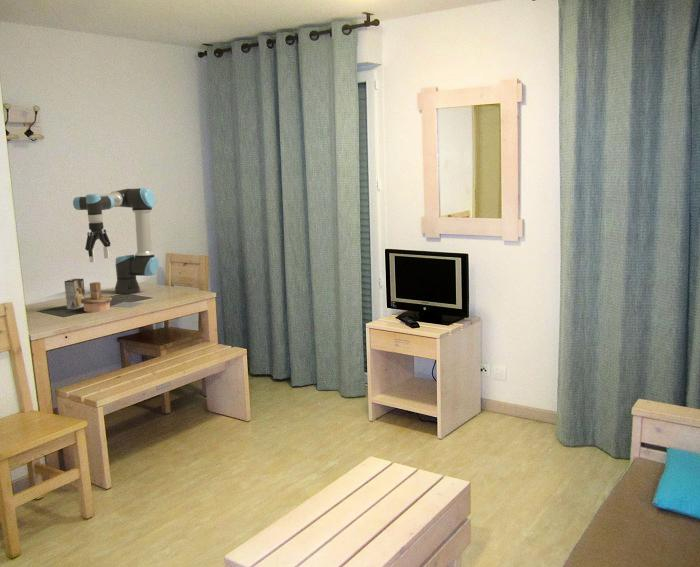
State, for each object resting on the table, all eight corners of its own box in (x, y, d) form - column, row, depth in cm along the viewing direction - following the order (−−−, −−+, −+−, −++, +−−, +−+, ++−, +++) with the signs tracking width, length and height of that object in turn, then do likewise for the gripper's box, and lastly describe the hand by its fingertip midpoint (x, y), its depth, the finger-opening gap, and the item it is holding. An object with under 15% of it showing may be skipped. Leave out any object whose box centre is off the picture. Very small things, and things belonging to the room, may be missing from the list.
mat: (123, 302, 399) (123, 302, 399) (144, 303, 396) (144, 302, 396) (109, 307, 386) (109, 306, 386) (131, 308, 382) (131, 307, 382)
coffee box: (76, 306, 393) (73, 278, 390) (86, 306, 392) (83, 278, 389) (66, 309, 384) (64, 281, 381) (77, 309, 383) (74, 281, 380)
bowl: (93, 307, 388) (93, 298, 387) (114, 307, 385) (114, 299, 384) (79, 312, 375) (78, 303, 374) (100, 312, 372) (99, 303, 371)
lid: (92, 297, 389) (91, 280, 387) (117, 298, 385) (116, 280, 383) (74, 303, 374) (73, 285, 372) (100, 304, 370) (99, 285, 368)
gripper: (103, 219, 391) (106, 256, 395) (75, 224, 368) (79, 263, 372) (114, 219, 389) (118, 256, 394) (87, 224, 366) (92, 264, 370)
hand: (99, 260), depth 383 cm, fingers open, 13 cm apart
